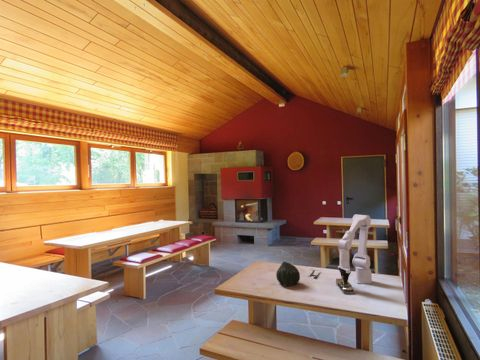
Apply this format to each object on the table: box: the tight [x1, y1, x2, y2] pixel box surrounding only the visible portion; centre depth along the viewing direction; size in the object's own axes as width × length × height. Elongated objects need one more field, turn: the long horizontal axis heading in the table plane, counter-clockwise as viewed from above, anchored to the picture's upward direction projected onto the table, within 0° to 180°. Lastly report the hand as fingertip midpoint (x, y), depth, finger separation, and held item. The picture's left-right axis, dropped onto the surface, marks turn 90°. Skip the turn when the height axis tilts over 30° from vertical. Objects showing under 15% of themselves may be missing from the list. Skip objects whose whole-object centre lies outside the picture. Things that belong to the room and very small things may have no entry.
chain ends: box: [335, 278, 355, 295], centre depth 184 cm, size 6×17×4 cm, turn 178°
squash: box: [275, 261, 301, 287], centre depth 195 cm, size 14×15×15 cm
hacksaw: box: [309, 268, 322, 280], centre depth 216 cm, size 24×10×2 cm, turn 152°
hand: (344, 281), depth 184 cm, fingers closed on brass pin, 2 cm apart
